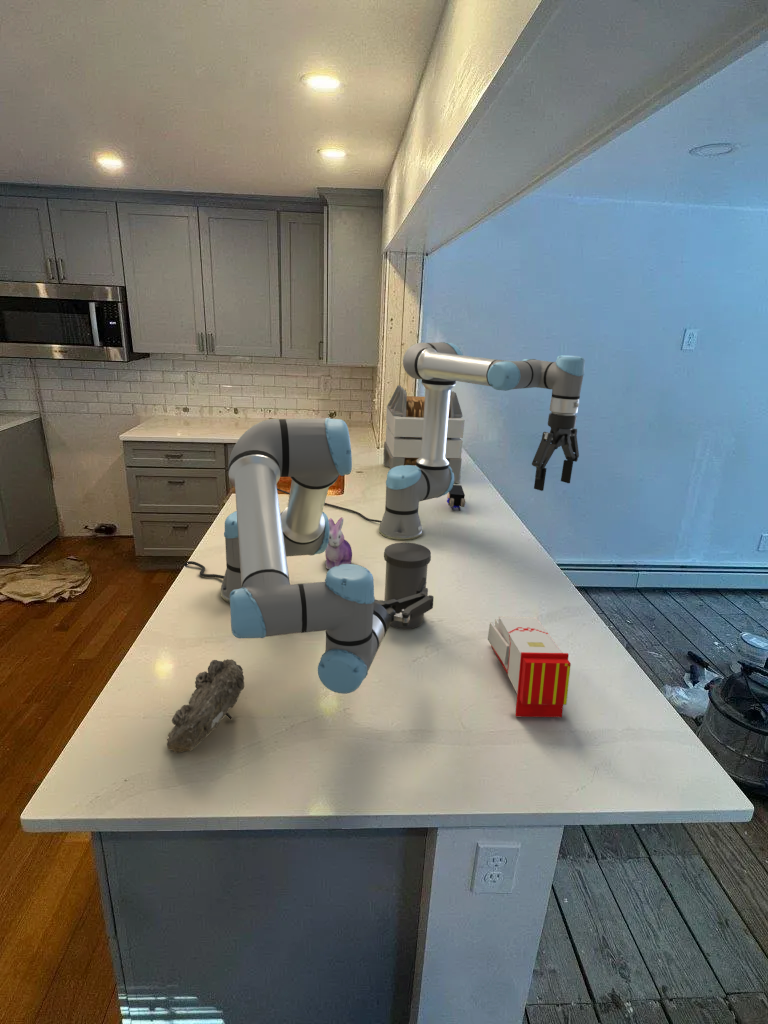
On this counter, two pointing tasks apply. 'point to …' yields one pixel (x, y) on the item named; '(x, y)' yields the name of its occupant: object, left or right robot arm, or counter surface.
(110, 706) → the counter surface
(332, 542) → the figurine
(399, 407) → the white slatted box
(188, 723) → the fossil
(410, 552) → the lid
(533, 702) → the toy
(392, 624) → the jar
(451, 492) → the figurine character
